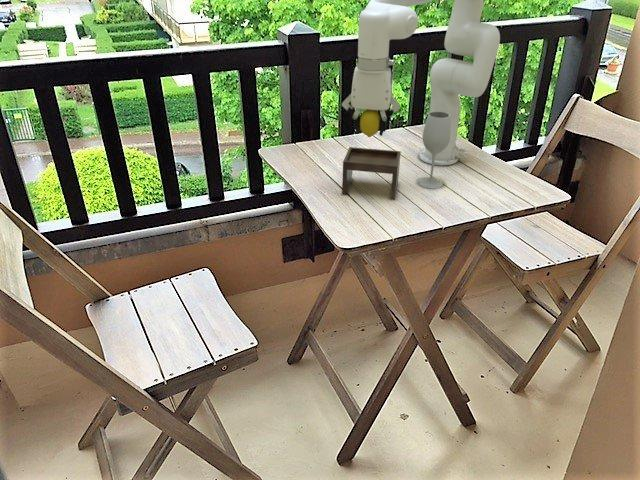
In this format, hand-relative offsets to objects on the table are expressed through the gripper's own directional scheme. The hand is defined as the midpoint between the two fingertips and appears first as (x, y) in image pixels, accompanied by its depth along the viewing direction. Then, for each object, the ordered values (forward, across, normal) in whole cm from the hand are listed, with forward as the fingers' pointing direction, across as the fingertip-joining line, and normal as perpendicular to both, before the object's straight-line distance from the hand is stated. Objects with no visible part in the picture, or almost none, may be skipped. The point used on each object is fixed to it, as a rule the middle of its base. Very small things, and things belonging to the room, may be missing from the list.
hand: (369, 132), depth 140 cm
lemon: (+2, 0, 0) cm, 2 cm away
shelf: (+19, -1, -4) cm, 19 cm away
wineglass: (+19, -18, -12) cm, 29 cm away
